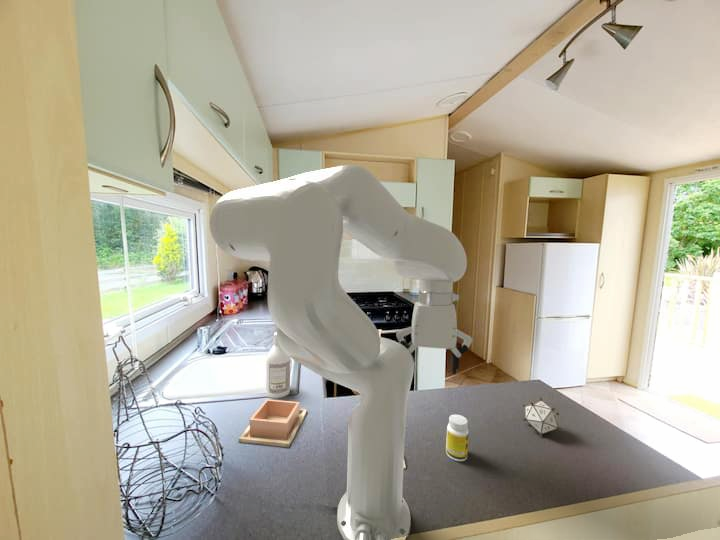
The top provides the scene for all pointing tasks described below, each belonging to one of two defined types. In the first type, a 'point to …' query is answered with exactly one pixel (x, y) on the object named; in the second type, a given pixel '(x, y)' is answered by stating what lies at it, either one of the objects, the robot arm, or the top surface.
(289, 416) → the peach square bin
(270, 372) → the bath foam
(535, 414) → the game die
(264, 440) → the tray
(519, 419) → the top surface
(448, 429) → the supplement bottle
